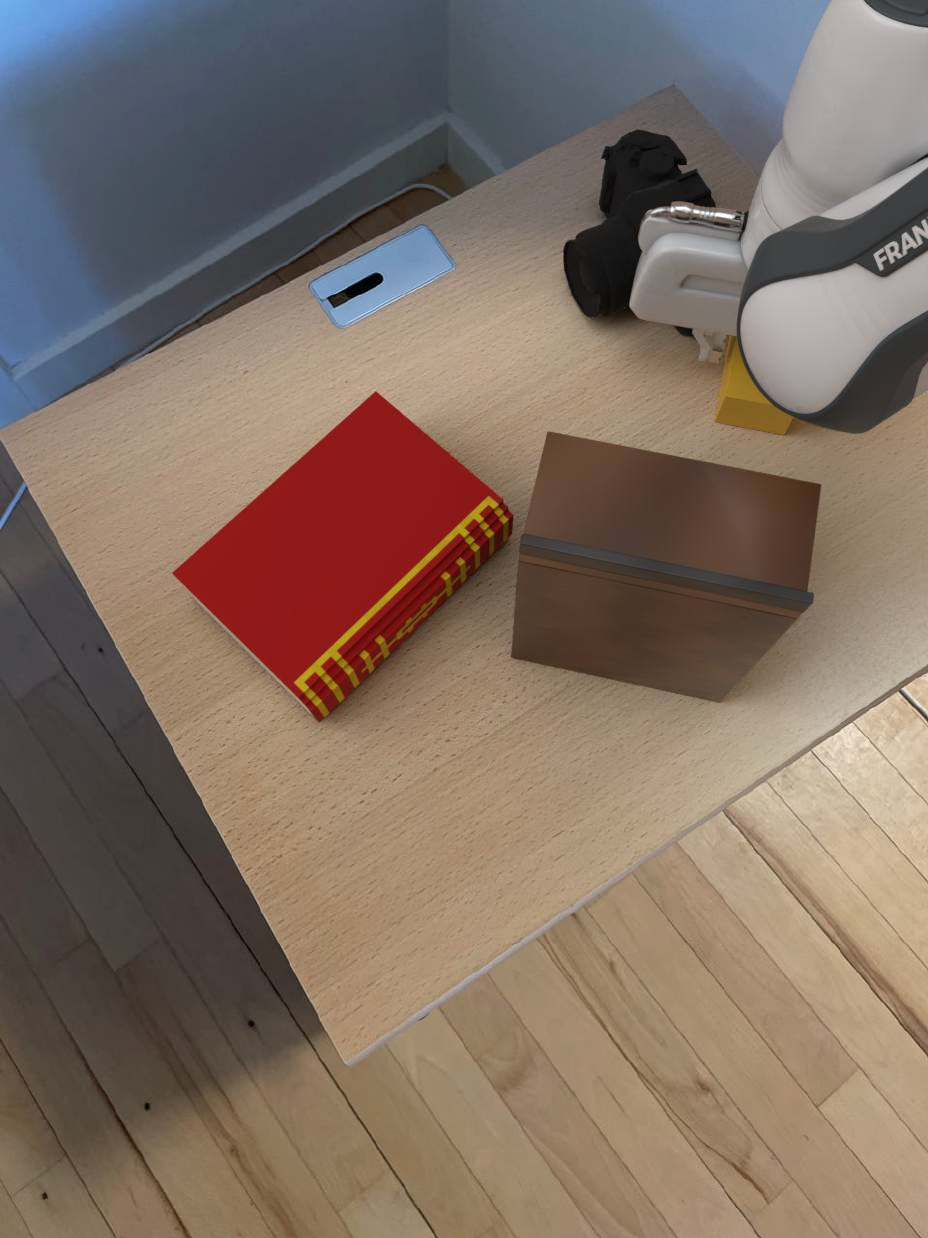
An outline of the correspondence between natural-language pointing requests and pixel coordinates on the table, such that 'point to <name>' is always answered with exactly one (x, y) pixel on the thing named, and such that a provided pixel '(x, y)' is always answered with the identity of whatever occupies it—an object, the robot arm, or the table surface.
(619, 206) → the film camera
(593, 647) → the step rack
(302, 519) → the book
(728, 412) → the yellow box
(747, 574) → the top shelf
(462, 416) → the table surface
